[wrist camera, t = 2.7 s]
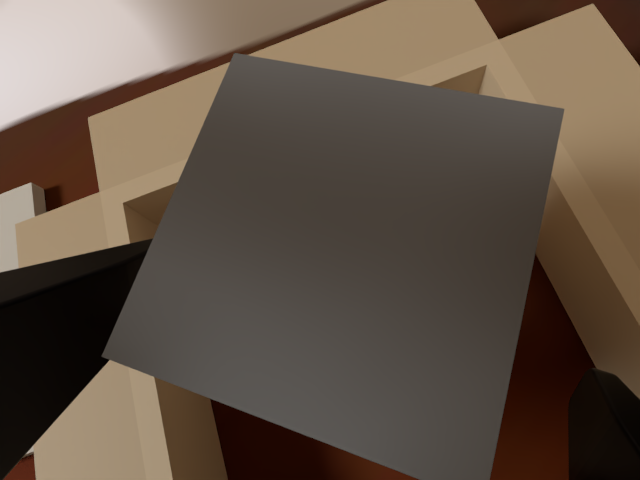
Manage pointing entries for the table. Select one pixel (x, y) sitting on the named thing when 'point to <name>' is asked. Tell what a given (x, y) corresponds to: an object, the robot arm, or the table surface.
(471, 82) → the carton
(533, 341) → the table surface
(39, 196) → the white square tile
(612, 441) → the robot arm
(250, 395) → the capped block
